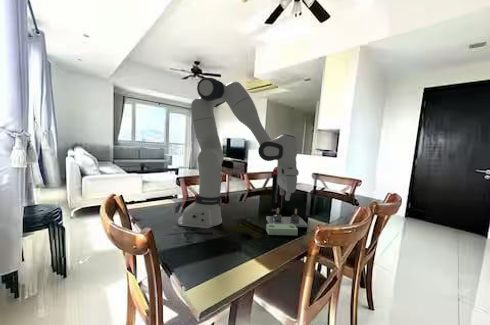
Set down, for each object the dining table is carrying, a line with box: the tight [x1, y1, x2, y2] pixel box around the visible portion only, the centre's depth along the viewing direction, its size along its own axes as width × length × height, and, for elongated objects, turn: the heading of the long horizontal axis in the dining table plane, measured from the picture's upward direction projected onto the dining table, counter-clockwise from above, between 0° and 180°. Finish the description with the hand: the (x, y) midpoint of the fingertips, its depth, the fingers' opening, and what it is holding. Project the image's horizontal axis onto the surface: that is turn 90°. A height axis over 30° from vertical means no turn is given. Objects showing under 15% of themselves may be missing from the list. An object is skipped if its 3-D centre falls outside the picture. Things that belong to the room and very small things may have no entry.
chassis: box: [265, 208, 308, 228], centre depth 121 cm, size 20×11×8 cm, turn 96°
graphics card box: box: [270, 166, 284, 215], centre depth 143 cm, size 17×7×27 cm, turn 168°
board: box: [265, 223, 299, 236], centre depth 108 cm, size 14×6×3 cm, turn 96°
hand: (284, 197), depth 106 cm, fingers open, 8 cm apart
